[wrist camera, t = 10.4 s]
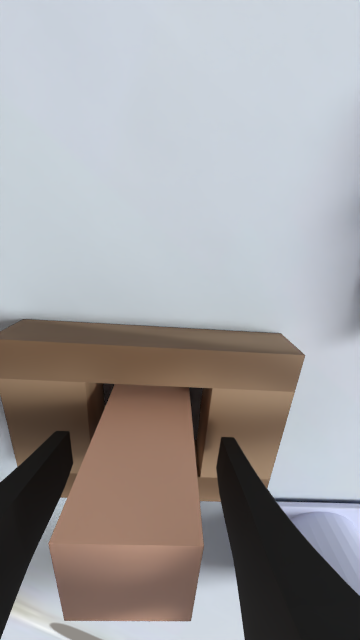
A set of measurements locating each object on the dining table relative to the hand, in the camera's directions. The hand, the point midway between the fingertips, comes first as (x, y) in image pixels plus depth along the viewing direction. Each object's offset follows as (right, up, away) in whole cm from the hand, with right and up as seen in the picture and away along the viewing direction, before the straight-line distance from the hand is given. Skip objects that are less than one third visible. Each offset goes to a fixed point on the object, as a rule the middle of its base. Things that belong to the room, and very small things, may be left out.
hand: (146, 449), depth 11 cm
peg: (0, +1, +3) cm, 3 cm away
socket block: (0, +1, +3) cm, 3 cm away
